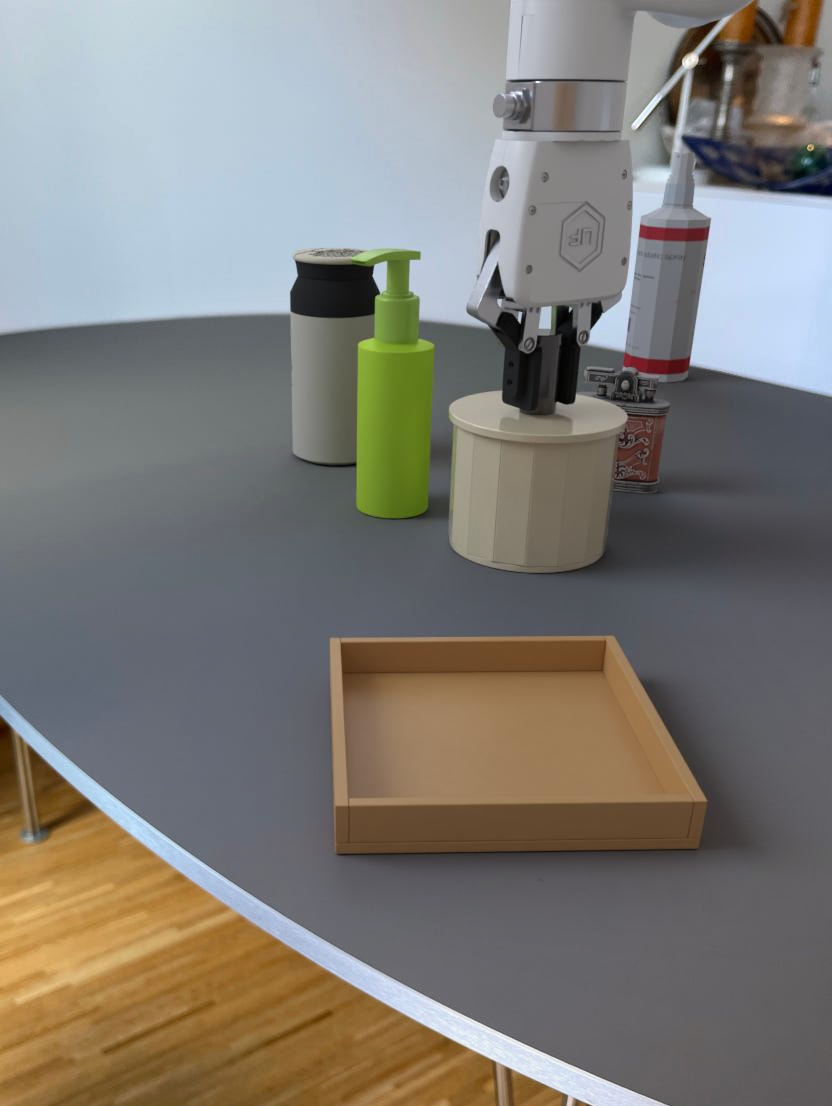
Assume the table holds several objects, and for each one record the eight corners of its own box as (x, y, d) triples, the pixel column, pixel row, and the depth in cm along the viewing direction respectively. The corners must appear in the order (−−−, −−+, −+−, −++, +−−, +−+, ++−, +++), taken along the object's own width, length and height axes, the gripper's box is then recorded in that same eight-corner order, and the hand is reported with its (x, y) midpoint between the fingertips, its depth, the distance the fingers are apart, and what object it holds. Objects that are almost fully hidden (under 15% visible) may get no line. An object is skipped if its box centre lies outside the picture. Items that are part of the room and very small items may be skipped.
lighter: (661, 484, 93) (677, 369, 89) (653, 496, 90) (670, 377, 86) (570, 472, 96) (582, 360, 92) (560, 482, 93) (572, 367, 89)
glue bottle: (610, 374, 132) (635, 151, 121) (645, 365, 136) (673, 150, 125) (664, 385, 127) (696, 154, 115) (699, 376, 131) (733, 152, 120)
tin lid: (601, 405, 82) (611, 315, 79) (647, 452, 71) (661, 350, 68) (439, 405, 82) (443, 315, 79) (459, 453, 71) (464, 350, 68)
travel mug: (393, 451, 102) (398, 251, 94) (345, 472, 96) (347, 261, 88) (325, 437, 106) (324, 245, 97) (275, 457, 100) (270, 253, 92)
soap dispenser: (331, 507, 87) (331, 248, 78) (394, 490, 91) (401, 242, 82) (379, 526, 83) (384, 256, 74) (442, 508, 87) (455, 249, 78)
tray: (608, 675, 62) (614, 635, 61) (699, 849, 47) (708, 801, 46) (329, 677, 61) (329, 637, 60) (334, 854, 47) (334, 805, 46)
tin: (584, 516, 86) (597, 399, 82) (621, 572, 76) (639, 441, 71) (441, 516, 86) (446, 399, 81) (458, 573, 75) (466, 442, 71)
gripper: (499, 115, 61) (480, 432, 69) (698, 116, 69) (658, 400, 77) (423, 114, 67) (413, 406, 75) (614, 114, 74) (586, 379, 82)
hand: (538, 401), depth 76 cm, fingers closed
